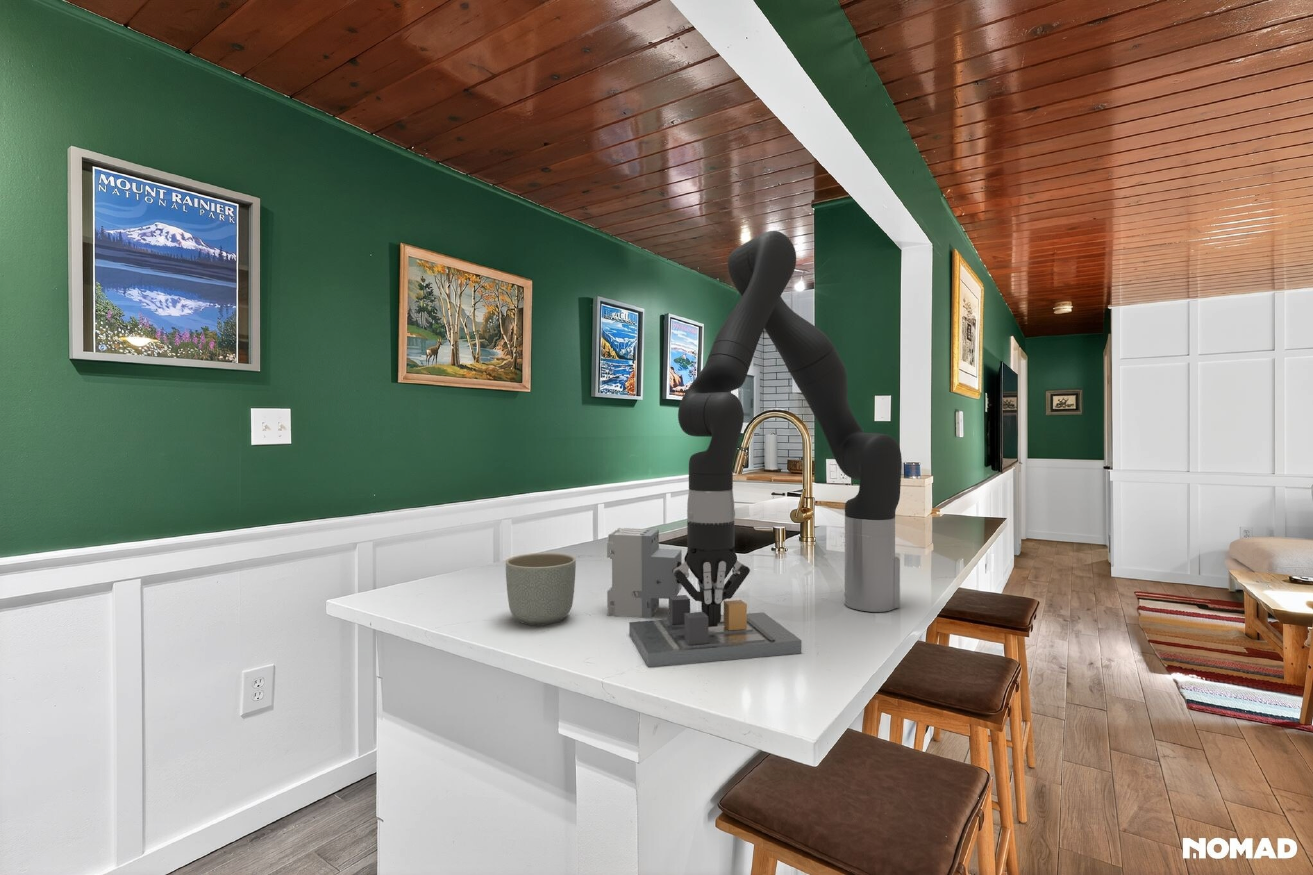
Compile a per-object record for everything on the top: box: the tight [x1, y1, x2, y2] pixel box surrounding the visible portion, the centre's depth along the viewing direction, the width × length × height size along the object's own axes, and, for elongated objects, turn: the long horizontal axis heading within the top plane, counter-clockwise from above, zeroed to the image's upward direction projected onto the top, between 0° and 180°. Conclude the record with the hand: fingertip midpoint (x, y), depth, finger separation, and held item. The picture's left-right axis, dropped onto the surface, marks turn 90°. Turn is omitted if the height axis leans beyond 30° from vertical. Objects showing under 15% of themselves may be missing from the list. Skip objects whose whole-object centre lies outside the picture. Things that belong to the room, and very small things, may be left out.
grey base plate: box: [628, 611, 803, 668], centre depth 103 cm, size 24×15×2 cm, turn 103°
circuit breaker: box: [606, 527, 690, 619], centre depth 120 cm, size 8×14×15 cm, turn 78°
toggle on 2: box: [684, 611, 708, 645], centre depth 97 cm, size 3×3×4 cm
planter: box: [505, 552, 577, 626], centre depth 115 cm, size 12×12×11 cm
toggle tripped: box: [723, 599, 748, 630], centre depth 103 cm, size 3×3×4 cm
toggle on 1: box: [668, 594, 691, 624], centre depth 107 cm, size 3×3×4 cm
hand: (711, 625), depth 103 cm, fingers closed
